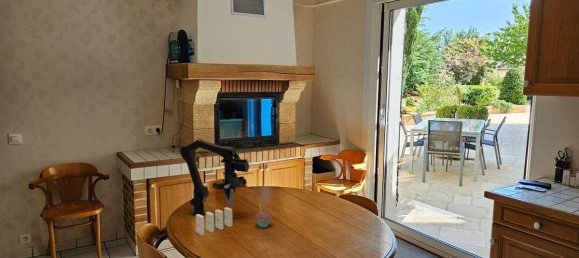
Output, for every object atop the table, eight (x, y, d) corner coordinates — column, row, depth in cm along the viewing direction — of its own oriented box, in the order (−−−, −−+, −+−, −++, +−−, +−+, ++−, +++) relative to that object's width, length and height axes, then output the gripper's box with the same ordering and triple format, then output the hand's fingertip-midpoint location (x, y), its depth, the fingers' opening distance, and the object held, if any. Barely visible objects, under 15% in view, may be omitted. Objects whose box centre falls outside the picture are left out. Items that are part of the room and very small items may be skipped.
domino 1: (201, 235, 192) (200, 217, 191) (196, 232, 196) (195, 214, 195) (204, 234, 193) (203, 216, 192) (199, 231, 197) (198, 214, 196)
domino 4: (229, 227, 203) (229, 210, 202) (224, 224, 207) (224, 207, 206) (232, 226, 204) (232, 209, 203) (227, 223, 208) (227, 207, 207)
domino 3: (220, 229, 200) (220, 212, 199) (215, 227, 203) (215, 210, 202) (223, 229, 201) (223, 211, 200) (218, 226, 204) (218, 209, 203)
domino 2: (211, 232, 196) (210, 214, 195) (205, 229, 199) (205, 212, 198) (213, 231, 197) (213, 214, 196) (208, 228, 200) (208, 211, 199)
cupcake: (256, 229, 201) (256, 206, 199) (253, 223, 209) (253, 201, 207) (273, 228, 203) (273, 205, 202) (269, 222, 211) (269, 200, 210)
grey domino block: (231, 205, 215) (231, 189, 214) (226, 203, 218) (226, 187, 217) (233, 205, 216) (233, 188, 215) (228, 203, 219) (228, 187, 218)
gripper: (223, 176, 203) (223, 205, 204) (252, 170, 215) (252, 198, 217) (211, 172, 211) (212, 200, 213) (240, 167, 223) (240, 194, 225)
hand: (229, 198), depth 217 cm, fingers closed on grey domino block, 2 cm apart
